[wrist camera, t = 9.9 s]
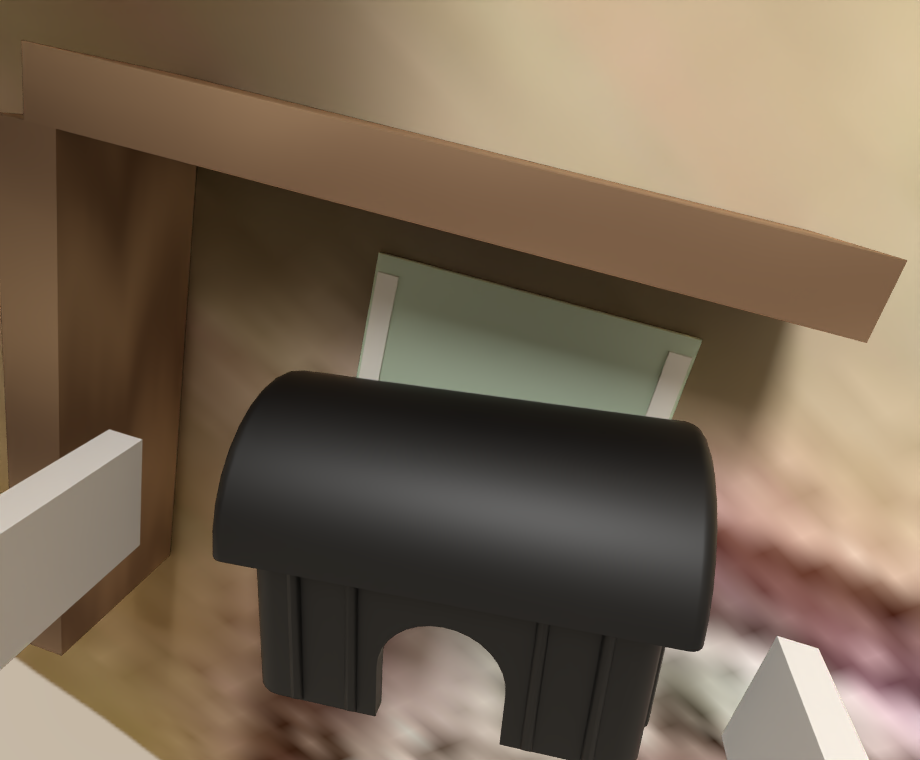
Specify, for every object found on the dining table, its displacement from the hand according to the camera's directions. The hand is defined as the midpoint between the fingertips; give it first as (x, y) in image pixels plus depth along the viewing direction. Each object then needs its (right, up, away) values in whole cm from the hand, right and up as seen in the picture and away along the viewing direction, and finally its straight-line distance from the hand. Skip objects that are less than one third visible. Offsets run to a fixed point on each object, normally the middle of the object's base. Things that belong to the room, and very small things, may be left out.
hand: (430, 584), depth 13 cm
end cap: (+2, +2, +6) cm, 7 cm away
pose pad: (+1, +2, +6) cm, 7 cm away
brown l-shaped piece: (-1, +3, +6) cm, 7 cm away
